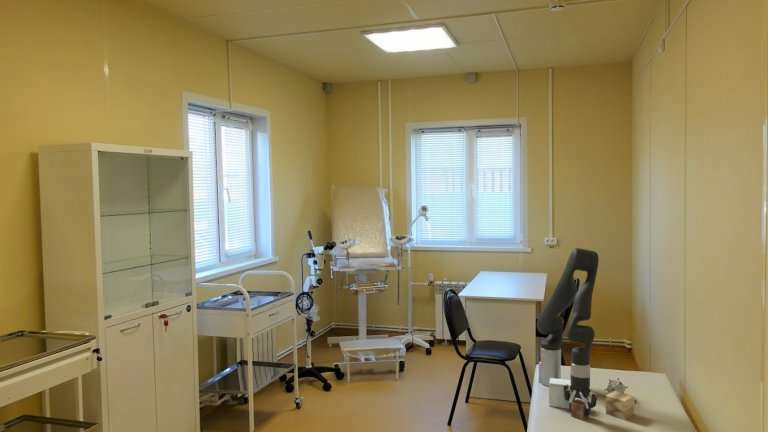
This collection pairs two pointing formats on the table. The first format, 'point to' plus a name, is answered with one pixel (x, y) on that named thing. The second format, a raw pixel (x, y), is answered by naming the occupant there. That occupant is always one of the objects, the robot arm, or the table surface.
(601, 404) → the table surface
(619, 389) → the game die
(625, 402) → the tower top
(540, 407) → the table surface
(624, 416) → the tower base
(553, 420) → the table surface
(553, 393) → the skincare box
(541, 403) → the table surface
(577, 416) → the block
